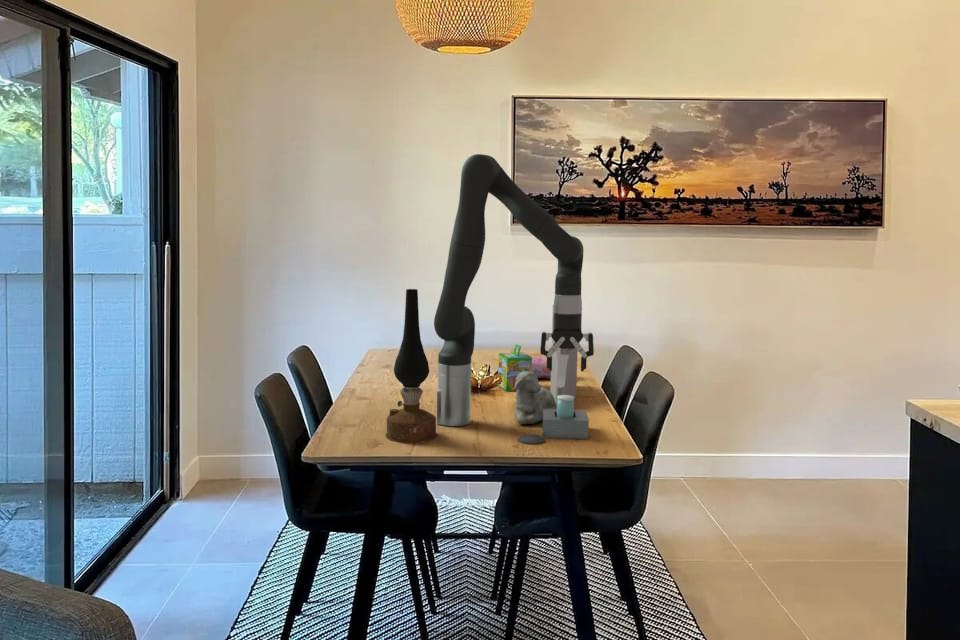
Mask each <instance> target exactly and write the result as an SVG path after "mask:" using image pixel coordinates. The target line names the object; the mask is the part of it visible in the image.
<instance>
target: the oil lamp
mask: <svg viewBox="0 0 960 640" xmlns="http://www.w3.org/2000/svg"><path fill="white" fill-rule="evenodd" d="M404 305H405V306H404V307H405V308H404V326H403V336H402V340H401V343H400V347H399V350H398V354H397V356H396V358H395V361H394V368H393V374H394V376H395V378H396V379H397V381H398V382H399V383H401V384H402V386H403V388H402V389H400V391H399V392H400V395H401V398H402V400H403V401H402V400H398V401H397V404H396V405H397V407H399V408H400V407H402V406H403V408H400V409H397V408H392V409H389V415H387V417H386V433H385V438H386V439H387V440H389V441H392V442H396V443H397V442H398V443H402V444H403V443H404V444H405V443H407V444H413V443H415V444H416V443H425V442H430V441H433V440H435V439H436V438H437V437H438V434H437V416H436V415H434V414H433V413H431V412H429V411H428V410H426V409H424V408H420V405H421V403H420V400H421V398H422V395H423V393H424V390H423V389H422V388H421V387H420V386H421V385H422V384H423V383H424V382H425V381H426V380H427V378H428V377H429V374H430V365H429V361H428V358H427V356H426V354H425V351H424V347H423V344H422V340H421V331H420V330H421V329H420V318H419V312H420V311H419V291H418V289H417V288H407V289H406V290H405V304H404Z"/></svg>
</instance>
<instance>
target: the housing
mask: <svg viewBox="0 0 960 640" xmlns="http://www.w3.org/2000/svg"><path fill="white" fill-rule="evenodd" d="M541 421H542V423H541V424H542V429H541V431H542V437H544V438H545V439H569V440H570V439H571V440H576V439H577V440H589V422H590V420H589V416H588V412H587V409H574V417H557V409H543V420H541Z"/></svg>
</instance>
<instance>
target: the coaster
mask: <svg viewBox="0 0 960 640" xmlns="http://www.w3.org/2000/svg"><path fill="white" fill-rule="evenodd" d="M545 439H546V438H544V437H543V435H537V434H524V435H520V436H518V438H517V441H518V442H520V443H521V444H525V445H540V444H542V443H545V441H546V440H545Z"/></svg>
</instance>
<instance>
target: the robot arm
mask: <svg viewBox="0 0 960 640" xmlns="http://www.w3.org/2000/svg"><path fill="white" fill-rule="evenodd" d="M460 174H461V175H460V187H459V188H460V189H459V199H458V206H457V211H456V215H455V218H454V225H453V229H452V235H451V239H450V244H449V250H448V258H447V263H446V269H445V274H444V278H443V287H442V290H441V293H440V298H439V302H438V305H437V308H436V311H435V315H434V318H433V319H434V321H433V326H434V330H435V333H436V335H437V337H438V338H440V339H441V340H444V342H443V346H442V348H441V349H440V351H439V352H438V356H437V359H438V360H437V363H438V364H437V365H438V366H437V367H438V368H437V390H436V425H441V426H448V427H460V426H461V427H462V426H468V425H469V424H470V423H471V401H472V400H471V396H472V395H471V394H472V393H471V390H472V389H471V386H472V385H471V384H472V377H471V376H472V356H473V353H474V350H475V335H476V333H475V332H476V321H475V317H474V313H473V311H472V310H471V309H470V308H469V307H468V306H466V299H467V295H468V293H469V289H470V287H471V285H472V283H473V282H474V280H475V277H476V275H477V273H478V272H479V269H480V266H481V264H482V260H483V255H484V249H485V244H486V222H485V220H486V218H485V217H486V215H485V212H486V211H485V210H486V204H487V200H488V196H489V194H490V195H492V196H493V197H495V198H496V199H497V200H499V201H500V202H501V203H502V205H503V206H505V208H506V209H507V210H508V211H509V213H511V214H512V216H513V217H514V218H515V220H516V221H517V222H518V223H519V224H520V225H521V226H522V227H523V228H524V229H525V230H526V231H528V232H529V234H531V235H532V236H533V237H534V238H535V239H537V240H538V241H540V242H541V244H542V245H543V246H544V247H545V249H547V250H548V252H550V254H551V255H553V256H554V258H556V259H557V273H556V275H555V278H554V279H555V280H554V298H553V305H554V307H553V306H552V310H553V309H554V319H553V332H552V331H551V332H546V331H542V332H541V338H540V355H543V356H544V357H547V369H549V371H552V355H553V353H554V352H555V351H556V350H557V349H558V347H559V348H561V349H566V348H568V349H574V348H575V347H576V349H577V350H578V352H579V354H580V355H581V357H580V372H584V370H586V369H587V358H588V357H591V356H592V357H593V356H594V355H595V353H594V352H595V350H594V349H595V348H594V335H593V333H592V332H587V333H583V331H582V320H583V319H582V317H583V300H582V272H583V263H584V245H583V242H582V240H580V239H579V238H578V237H576V236H575V235H574V236H573V235H570V233H568V232H567V231H566V230H565V229H564V228H563V227H561V226H560V225H559V222H558V221H557V220H556V219H555V218H554V217H553V216H552V215H551V214H550V213H548V212H547V210H545V209H544V208H543V207H542V206H540V204H538V203H537V202H536V201H535V200H533V199H532V198H531V197H530V196H529V195H528V194H526V192H524V191H523V190H522V189H521V188H520V187H519V186H518V185H517V184H516V183H515V182H514V181H513V180H512V178H511V177H510V176H509V175H508V173H507V172H506V171H505V170H504V169H503V167H502V166H501V165H500V164H499V162H498V161H497V160H496V159H495V158H494V157H492V156H490V155H487V154H483V153H482V154H481V153H476V154H472V155H471V156H469V157H468V158H467V159H465V161H464V162H463V165H462V167H461V173H460ZM550 338H551V340H552V339H553V340H554V341H555V343H554V344H553V345H552V344H551V347H550V348H549V350H546V344H547V342H548V341H549V339H550ZM583 339H585V341H586V342H588V345H587V347H588V350H587V351H585V349H584V348H583V347H582V345H581V344H580V343H581V341H582V340H583Z"/></svg>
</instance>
